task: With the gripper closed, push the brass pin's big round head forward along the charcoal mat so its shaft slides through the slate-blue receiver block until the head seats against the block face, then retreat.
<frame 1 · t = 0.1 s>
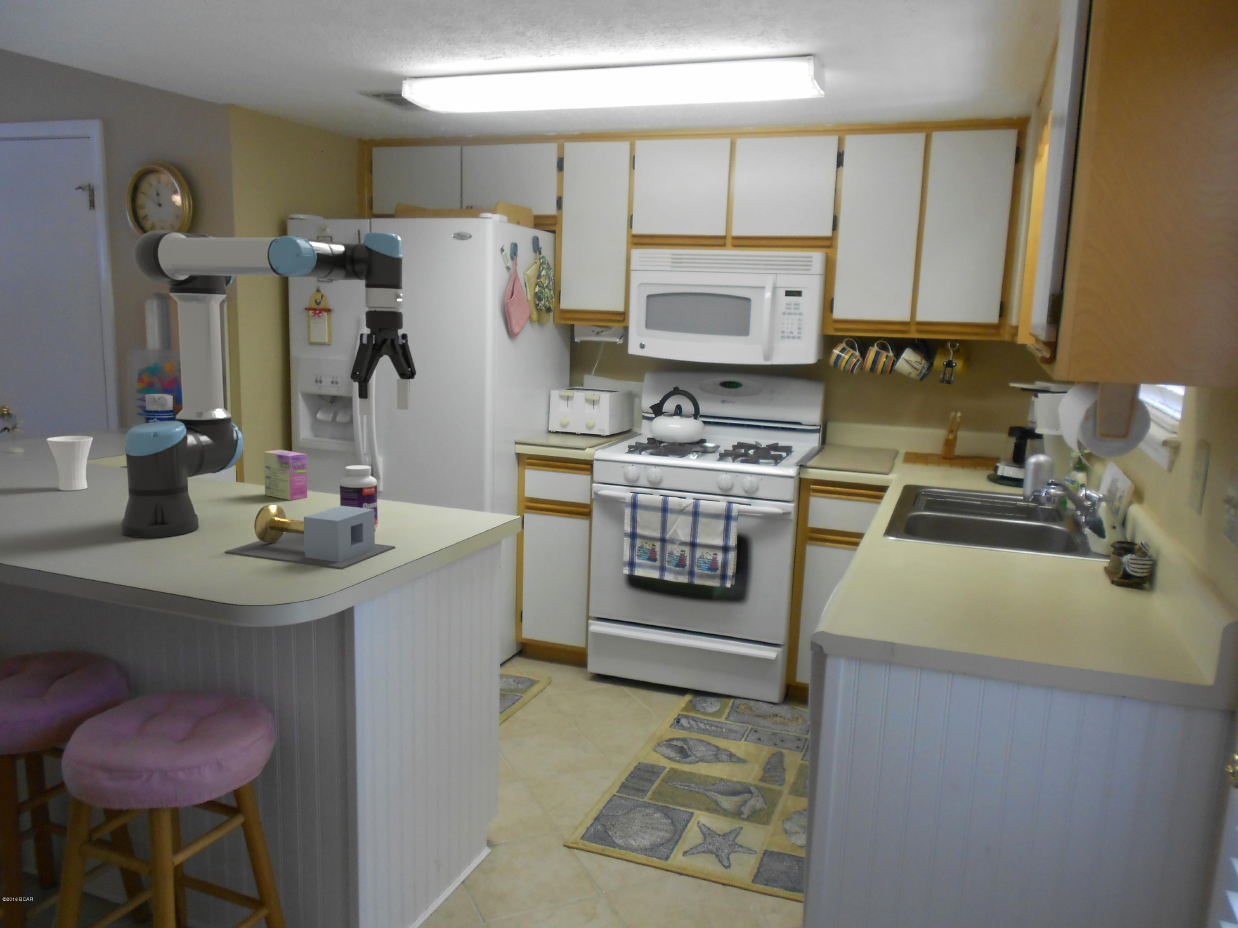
hand: (385, 412, 189), 28 cm above the worktop, fingers open, 13 cm apart
cup: (73, 489, 239), on the worktop
mat: (311, 550, 184), on the worktop
pin: (303, 527, 184), point 4 cm above the worktop, slide at 0.0 cm
receiver: (340, 553, 182), resting on mat
pill bottle: (359, 530, 203), on the worktop
box: (286, 497, 237), on the worktop
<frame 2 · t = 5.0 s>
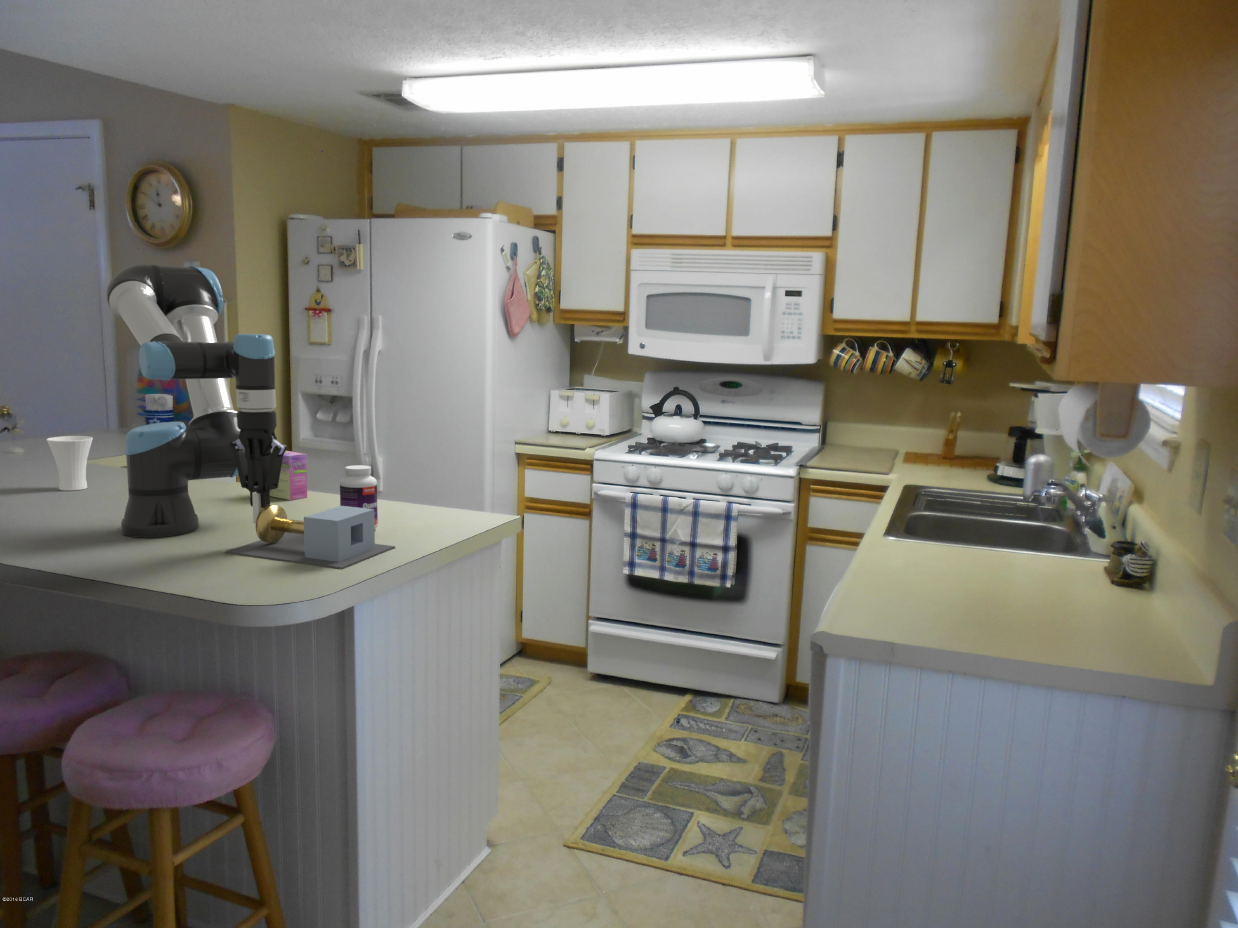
hand: (260, 522, 187), 5 cm above the worktop, fingers closed
pin: (304, 527, 184), point 4 cm above the worktop, slide at 0.3 cm, touching gripper
everything else where it was.
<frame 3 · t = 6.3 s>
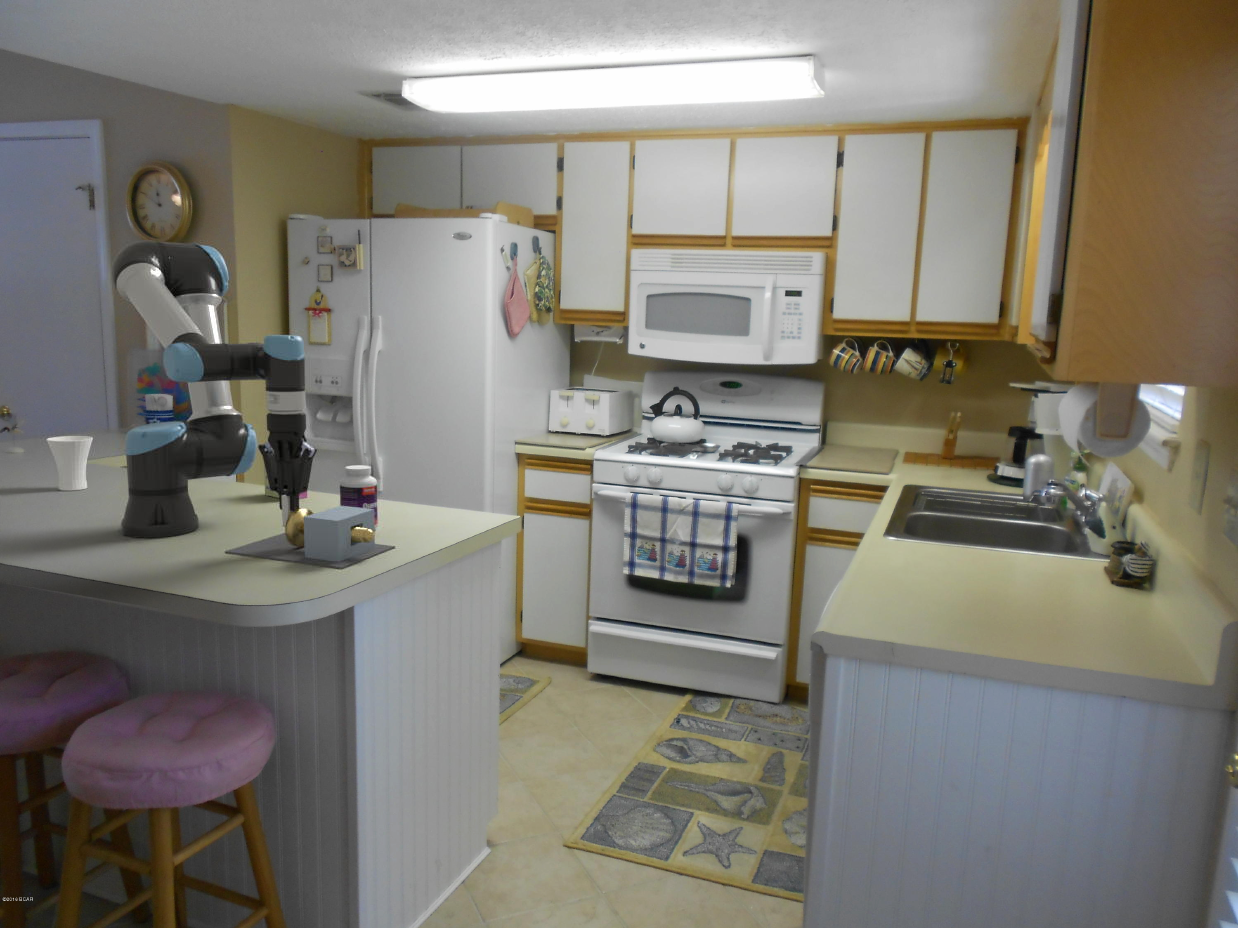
hand: (290, 525, 185), 5 cm above the worktop, fingers closed
pin: (334, 531, 182), point 4 cm above the worktop, slide at 7.7 cm, touching gripper
everything else where it was.
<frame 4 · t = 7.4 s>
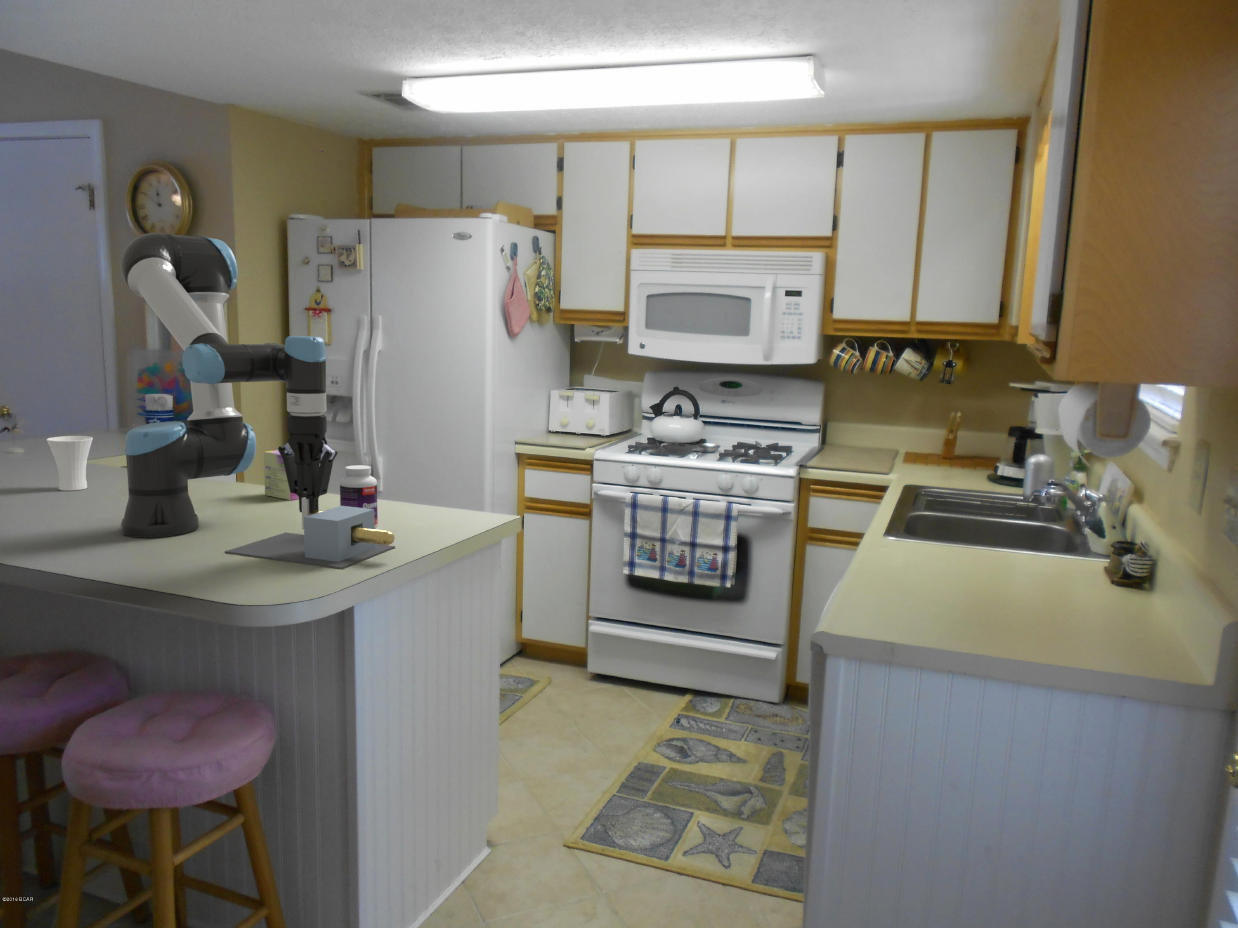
hand: (309, 528, 183), 5 cm above the worktop, fingers closed
pin: (354, 534, 180), point 4 cm above the worktop, slide at 12.4 cm, touching gripper
everything else where it was.
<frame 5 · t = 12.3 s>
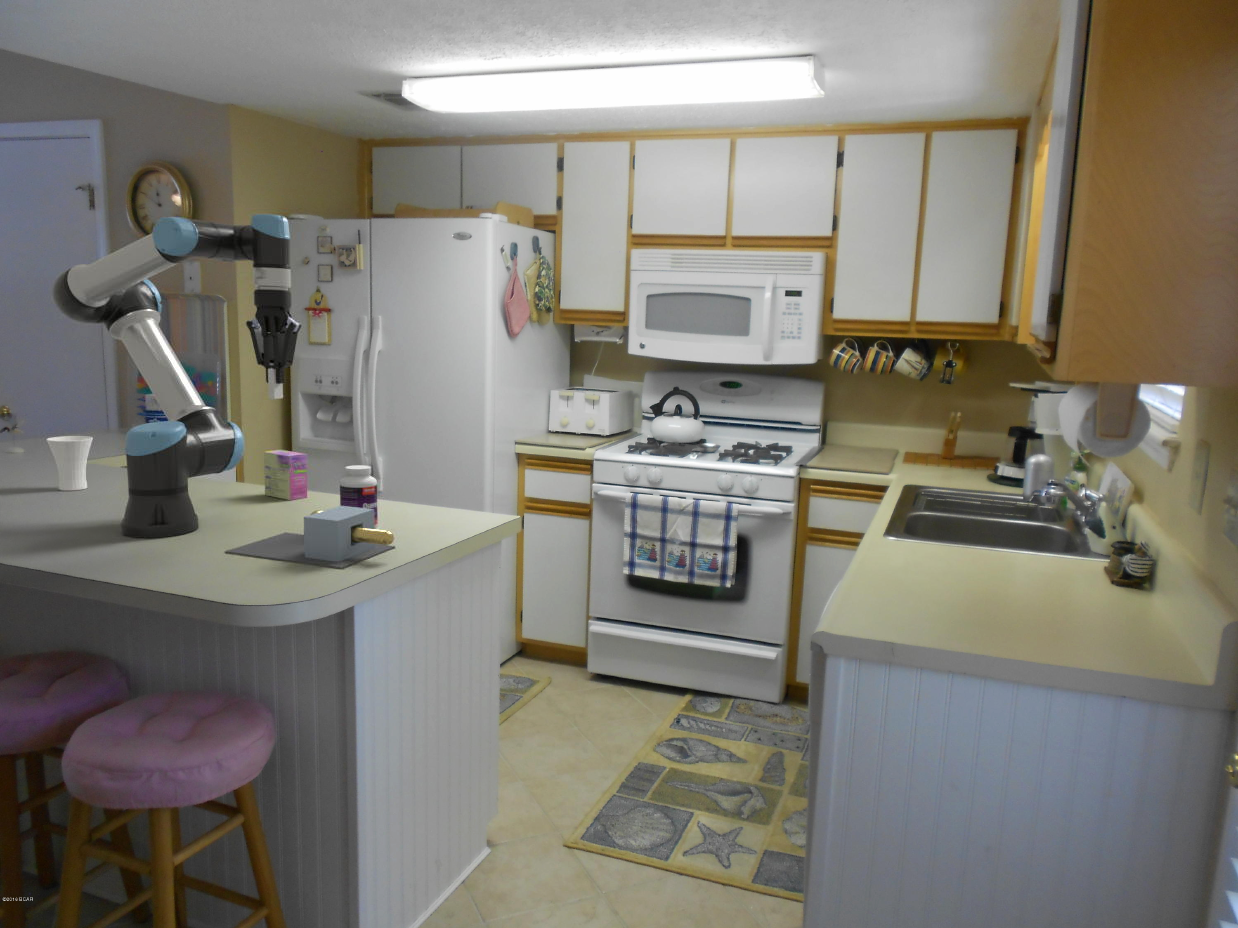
hand: (276, 398, 197), 29 cm above the worktop, fingers closed
pin: (354, 534, 180), point 4 cm above the worktop, slide at 12.2 cm
everything else where it was.
at the end: pin slide at 12.2 cm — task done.
